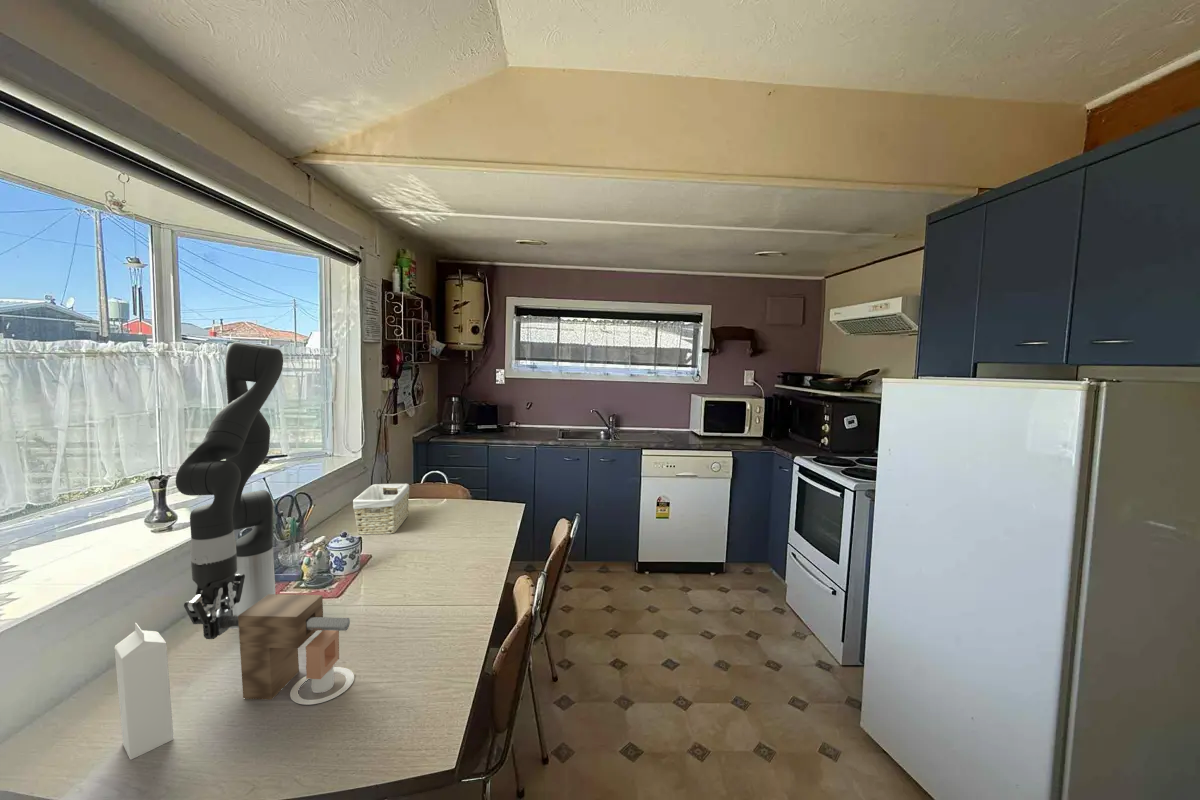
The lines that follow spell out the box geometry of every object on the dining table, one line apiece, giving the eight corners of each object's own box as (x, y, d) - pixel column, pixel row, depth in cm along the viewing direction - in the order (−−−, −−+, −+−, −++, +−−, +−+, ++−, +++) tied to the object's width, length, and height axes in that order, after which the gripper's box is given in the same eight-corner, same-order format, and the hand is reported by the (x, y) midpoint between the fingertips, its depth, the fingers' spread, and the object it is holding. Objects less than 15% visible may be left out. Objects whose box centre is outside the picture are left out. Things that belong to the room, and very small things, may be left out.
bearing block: (243, 699, 102) (238, 615, 100) (272, 671, 111) (268, 594, 109) (300, 700, 102) (296, 616, 100) (325, 672, 110) (322, 595, 109)
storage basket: (395, 535, 193) (394, 498, 192) (352, 536, 191) (350, 499, 190) (411, 515, 217) (410, 482, 215) (372, 516, 215) (371, 483, 214)
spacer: (306, 678, 102) (305, 646, 102) (325, 658, 109) (325, 627, 109) (320, 679, 102) (320, 647, 102) (339, 658, 109) (338, 628, 109)
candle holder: (295, 678, 109) (294, 659, 109) (355, 665, 114) (355, 647, 113) (285, 714, 98) (284, 694, 98) (352, 698, 103) (351, 678, 102)
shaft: (205, 635, 103) (204, 617, 103) (218, 626, 107) (217, 608, 107) (342, 637, 103) (341, 619, 103) (351, 628, 106) (350, 610, 106)
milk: (165, 725, 94) (157, 614, 93) (174, 740, 91) (166, 625, 89) (121, 744, 90) (112, 628, 88) (129, 761, 86) (120, 640, 84)
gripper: (222, 541, 111) (227, 614, 112) (166, 569, 97) (172, 652, 98) (255, 542, 111) (259, 615, 112) (204, 569, 96) (209, 653, 98)
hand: (219, 632), depth 105 cm, fingers closed on shaft, 3 cm apart
